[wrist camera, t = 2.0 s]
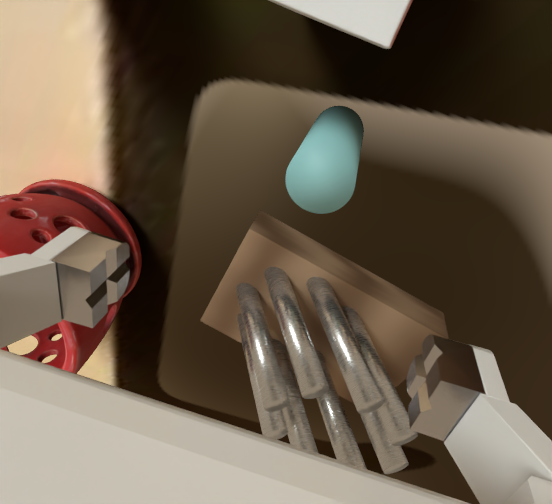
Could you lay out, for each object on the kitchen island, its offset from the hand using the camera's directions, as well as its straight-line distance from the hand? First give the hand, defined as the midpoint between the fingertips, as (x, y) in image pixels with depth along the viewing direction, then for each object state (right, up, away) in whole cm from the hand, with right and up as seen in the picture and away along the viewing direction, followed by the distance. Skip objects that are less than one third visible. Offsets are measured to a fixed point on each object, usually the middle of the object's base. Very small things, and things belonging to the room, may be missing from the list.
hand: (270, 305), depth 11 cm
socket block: (+4, -3, +23) cm, 23 cm away
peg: (+4, +9, +15) cm, 18 cm away
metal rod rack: (+4, -3, +23) cm, 23 cm away
